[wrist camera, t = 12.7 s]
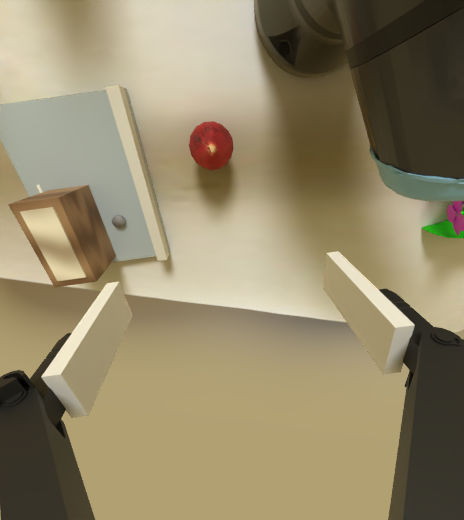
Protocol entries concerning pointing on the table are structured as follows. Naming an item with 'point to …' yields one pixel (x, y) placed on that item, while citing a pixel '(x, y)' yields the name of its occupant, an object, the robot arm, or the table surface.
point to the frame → (66, 234)
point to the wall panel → (89, 162)
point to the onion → (211, 145)
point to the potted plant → (450, 223)
